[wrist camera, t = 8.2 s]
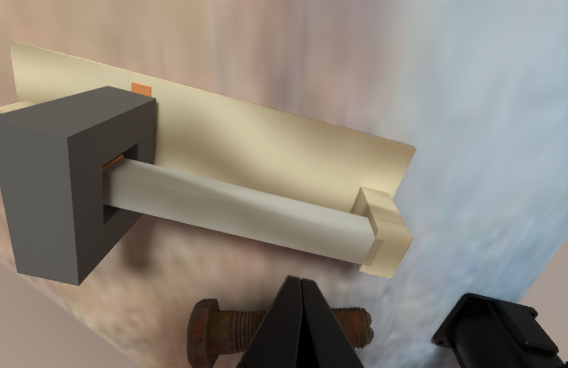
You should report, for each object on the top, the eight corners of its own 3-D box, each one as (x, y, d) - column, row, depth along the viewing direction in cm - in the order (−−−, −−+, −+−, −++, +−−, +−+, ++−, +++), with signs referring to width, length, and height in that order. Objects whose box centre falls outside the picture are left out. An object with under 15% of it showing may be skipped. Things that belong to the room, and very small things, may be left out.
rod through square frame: (360, 257, 25) (377, 321, 19) (36, 181, 23) (-47, 227, 18) (413, 146, 20) (455, 187, 15) (17, 40, 19) (-102, 43, 13)
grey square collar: (150, 205, 22) (78, 286, 15) (109, 195, 22) (17, 272, 15) (156, 98, 19) (66, 137, 12) (107, 85, 19) (-14, 117, 11)
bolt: (360, 298, 29) (208, 304, 30) (368, 284, 25) (192, 291, 26) (371, 368, 26) (201, 373, 27) (383, 365, 22) (181, 371, 23)
